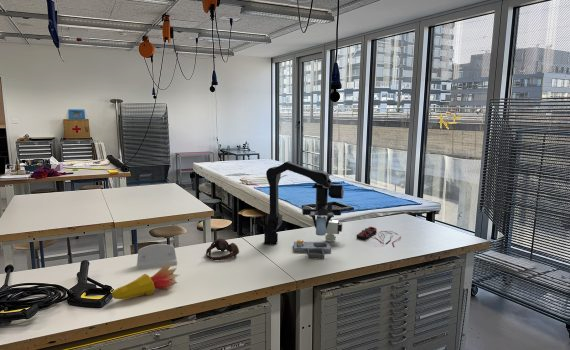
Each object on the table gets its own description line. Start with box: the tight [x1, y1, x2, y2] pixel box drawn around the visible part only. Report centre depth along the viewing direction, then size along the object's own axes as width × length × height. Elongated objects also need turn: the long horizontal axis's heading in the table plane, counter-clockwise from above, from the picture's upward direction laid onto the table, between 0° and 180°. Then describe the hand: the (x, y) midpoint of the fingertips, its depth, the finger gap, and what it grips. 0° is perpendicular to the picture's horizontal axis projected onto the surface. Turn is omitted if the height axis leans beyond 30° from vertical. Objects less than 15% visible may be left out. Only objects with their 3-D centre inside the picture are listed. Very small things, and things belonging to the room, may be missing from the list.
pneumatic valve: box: [324, 218, 343, 243], centre depth 203 cm, size 6×12×12 cm, turn 76°
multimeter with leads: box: [356, 226, 401, 248], centre depth 210 cm, size 23×4×25 cm
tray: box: [306, 249, 325, 260], centre depth 181 cm, size 7×7×2 cm
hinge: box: [136, 243, 178, 271], centre depth 167 cm, size 17×5×10 cm, turn 111°
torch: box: [111, 262, 180, 300], centre depth 140 cm, size 8×8×25 cm
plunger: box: [296, 239, 304, 246], centre depth 190 cm, size 3×3×4 cm
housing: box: [293, 241, 332, 254], centre depth 190 cm, size 18×10×2 cm, turn 90°
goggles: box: [205, 237, 240, 261], centre depth 178 cm, size 15×13×10 cm
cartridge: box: [315, 215, 327, 237], centre depth 189 cm, size 5×5×9 cm
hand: (320, 228), depth 189 cm, fingers closed on cartridge, 5 cm apart
